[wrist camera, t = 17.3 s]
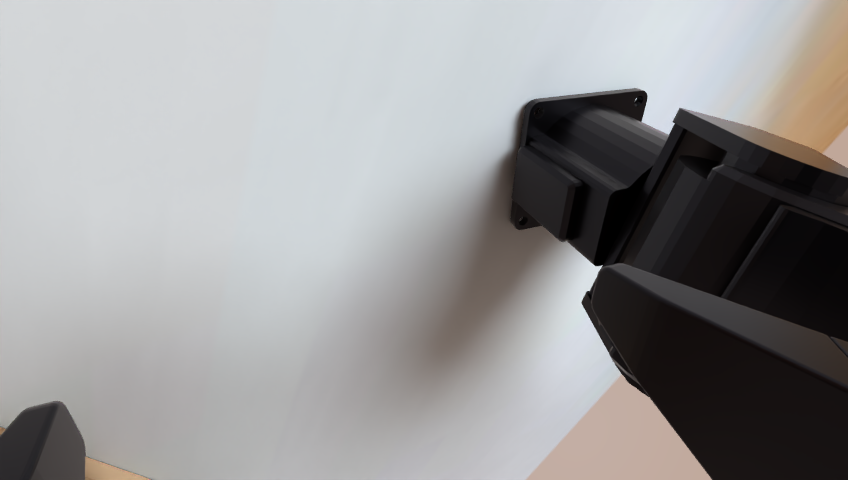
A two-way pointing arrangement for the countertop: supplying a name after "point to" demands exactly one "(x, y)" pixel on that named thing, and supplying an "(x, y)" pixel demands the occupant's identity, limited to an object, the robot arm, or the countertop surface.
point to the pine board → (104, 470)
